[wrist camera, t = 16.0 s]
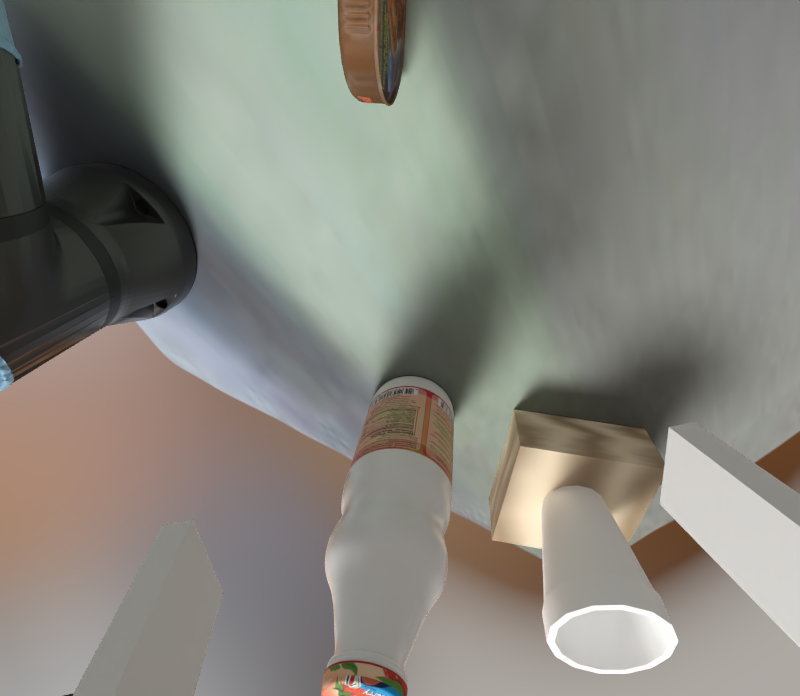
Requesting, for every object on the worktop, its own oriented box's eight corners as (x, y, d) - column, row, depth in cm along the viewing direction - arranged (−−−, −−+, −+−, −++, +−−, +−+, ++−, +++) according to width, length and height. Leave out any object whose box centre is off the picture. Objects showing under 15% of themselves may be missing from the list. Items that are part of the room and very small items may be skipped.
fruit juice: (471, 401, 47) (480, 708, 23) (425, 453, 51) (391, 758, 27) (398, 358, 46) (324, 636, 21) (357, 415, 50) (256, 700, 26)
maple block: (489, 498, 54) (491, 540, 48) (513, 409, 47) (520, 446, 42) (602, 517, 53) (618, 561, 47) (645, 429, 46) (668, 469, 41)
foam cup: (631, 527, 45) (688, 667, 33) (543, 545, 48) (569, 679, 36) (605, 463, 41) (660, 594, 30) (513, 487, 44) (530, 615, 33)
